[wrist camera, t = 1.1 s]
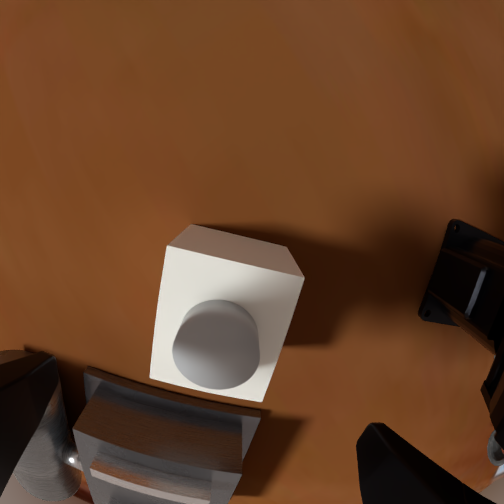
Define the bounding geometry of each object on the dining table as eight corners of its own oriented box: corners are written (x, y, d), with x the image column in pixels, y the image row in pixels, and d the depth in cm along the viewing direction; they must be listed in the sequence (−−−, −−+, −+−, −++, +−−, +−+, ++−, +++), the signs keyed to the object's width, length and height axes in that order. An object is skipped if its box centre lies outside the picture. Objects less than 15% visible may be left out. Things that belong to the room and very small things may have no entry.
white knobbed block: (286, 246, 16) (313, 293, 9) (257, 345, 17) (263, 425, 11) (191, 223, 15) (155, 256, 9) (172, 326, 17) (140, 399, 10)
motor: (260, 410, 18) (266, 495, 11) (222, 499, 21) (219, 557, 14) (5, 328, 17) (-49, 373, 10) (34, 438, 20) (6, 482, 13)
